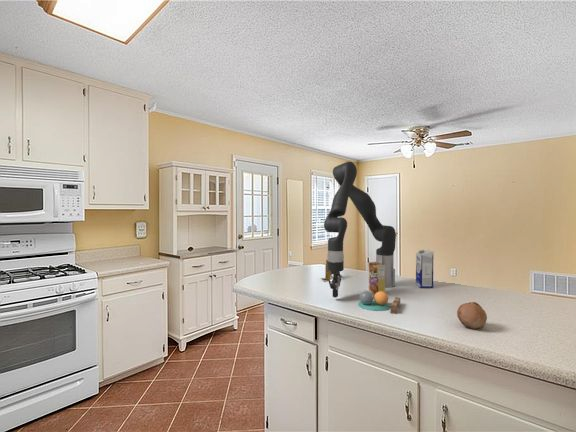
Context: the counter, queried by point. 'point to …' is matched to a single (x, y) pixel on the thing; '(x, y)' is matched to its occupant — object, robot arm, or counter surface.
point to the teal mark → (375, 306)
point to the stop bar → (395, 305)
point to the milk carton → (424, 268)
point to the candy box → (376, 277)
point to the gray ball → (366, 298)
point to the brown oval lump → (472, 315)
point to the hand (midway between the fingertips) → (335, 297)
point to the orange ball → (381, 298)
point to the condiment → (326, 273)
